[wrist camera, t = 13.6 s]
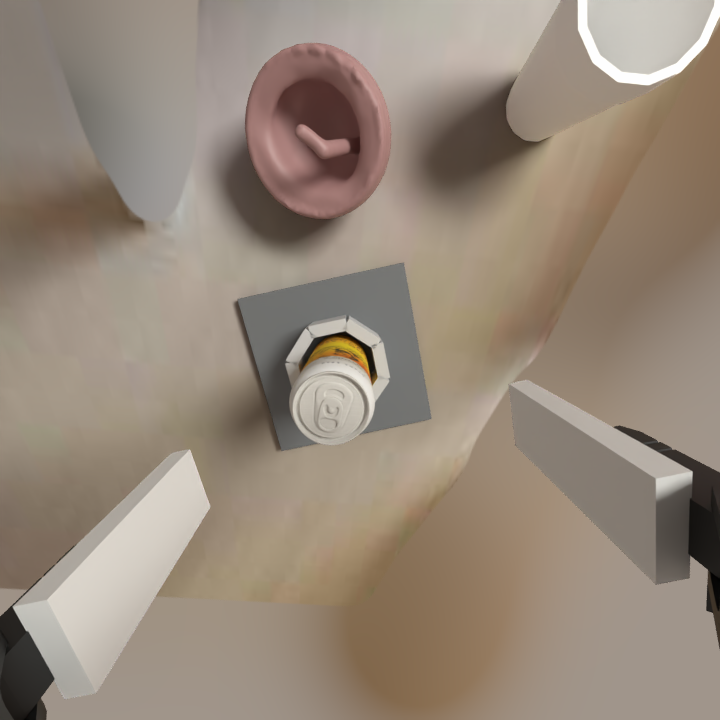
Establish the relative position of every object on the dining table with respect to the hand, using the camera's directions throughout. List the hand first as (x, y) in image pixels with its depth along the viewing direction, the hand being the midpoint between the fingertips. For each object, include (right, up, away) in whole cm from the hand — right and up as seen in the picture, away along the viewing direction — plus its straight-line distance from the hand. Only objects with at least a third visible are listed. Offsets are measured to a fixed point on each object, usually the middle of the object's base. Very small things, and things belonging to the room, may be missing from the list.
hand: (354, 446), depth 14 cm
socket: (-2, +4, +25) cm, 25 cm away
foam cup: (+18, +29, +20) cm, 39 cm away
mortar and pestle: (-3, +23, +21) cm, 31 cm away
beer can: (-2, +3, +24) cm, 24 cm away
